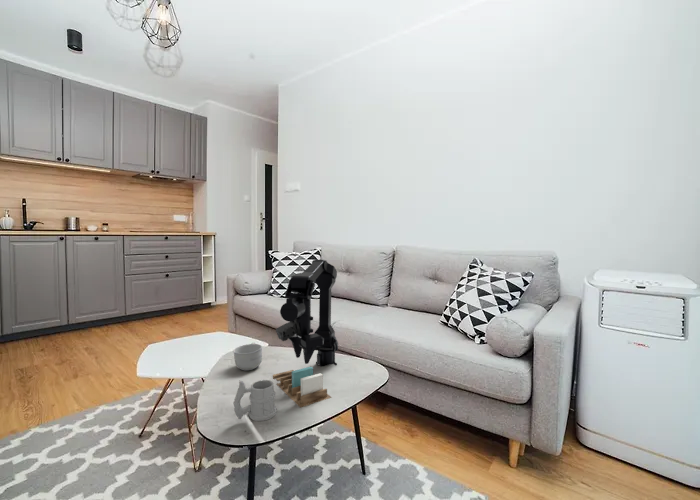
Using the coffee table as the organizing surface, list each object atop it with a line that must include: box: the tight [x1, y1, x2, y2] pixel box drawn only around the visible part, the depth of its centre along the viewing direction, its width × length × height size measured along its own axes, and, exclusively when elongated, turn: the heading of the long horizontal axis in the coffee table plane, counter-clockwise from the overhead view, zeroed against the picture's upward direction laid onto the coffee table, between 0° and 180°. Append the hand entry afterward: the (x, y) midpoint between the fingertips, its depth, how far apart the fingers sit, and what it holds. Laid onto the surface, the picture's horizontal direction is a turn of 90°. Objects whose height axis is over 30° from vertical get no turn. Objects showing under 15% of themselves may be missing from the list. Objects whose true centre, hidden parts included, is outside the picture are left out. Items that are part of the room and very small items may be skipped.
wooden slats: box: [272, 369, 295, 382], centre depth 124 cm, size 8×5×2 cm, turn 124°
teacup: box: [232, 342, 263, 371], centre depth 136 cm, size 14×11×8 cm
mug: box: [232, 379, 277, 422], centre depth 97 cm, size 8×12×12 cm, turn 112°
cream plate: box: [301, 372, 324, 396], centre depth 107 cm, size 7×2×7 cm, turn 124°
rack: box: [276, 375, 333, 409], centre depth 112 cm, size 11×19×4 cm, turn 34°
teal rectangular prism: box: [292, 366, 314, 388], centre depth 112 cm, size 7×2×7 cm, turn 124°
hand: (302, 360), depth 112 cm, fingers open, 6 cm apart
